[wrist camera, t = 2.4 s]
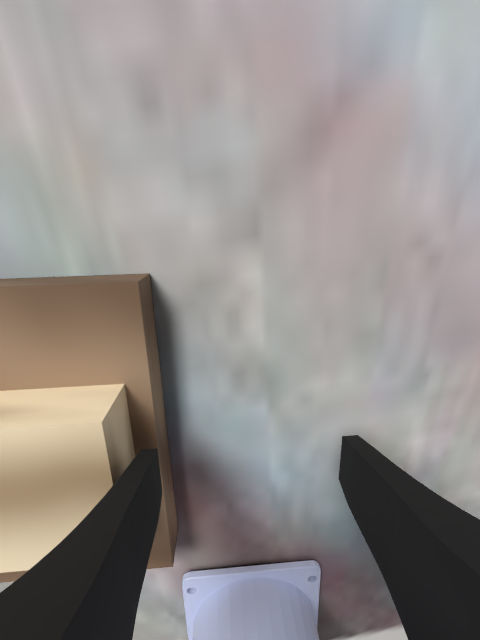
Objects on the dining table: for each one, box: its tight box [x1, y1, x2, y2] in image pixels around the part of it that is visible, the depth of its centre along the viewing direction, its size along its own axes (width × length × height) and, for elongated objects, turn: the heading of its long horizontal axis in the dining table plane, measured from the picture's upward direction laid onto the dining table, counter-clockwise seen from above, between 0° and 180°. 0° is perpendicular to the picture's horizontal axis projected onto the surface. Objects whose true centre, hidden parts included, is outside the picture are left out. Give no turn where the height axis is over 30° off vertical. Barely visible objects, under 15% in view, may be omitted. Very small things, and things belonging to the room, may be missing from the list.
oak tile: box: [0, 384, 135, 573], centre depth 12 cm, size 6×6×2 cm
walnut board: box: [0, 274, 178, 583], centre depth 14 cm, size 14×9×2 cm, turn 2°
